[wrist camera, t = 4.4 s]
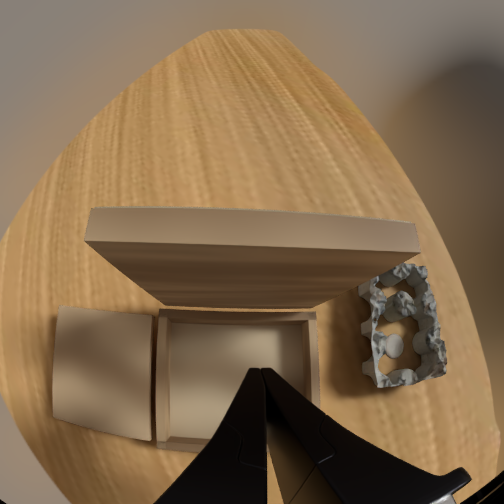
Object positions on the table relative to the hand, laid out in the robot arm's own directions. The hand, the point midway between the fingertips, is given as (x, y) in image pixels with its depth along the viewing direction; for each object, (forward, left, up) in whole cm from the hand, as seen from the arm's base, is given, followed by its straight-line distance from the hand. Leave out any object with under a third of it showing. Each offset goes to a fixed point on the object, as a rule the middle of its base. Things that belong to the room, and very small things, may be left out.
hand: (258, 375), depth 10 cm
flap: (+3, +3, -8) cm, 9 cm away
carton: (-3, +3, -11) cm, 12 cm away
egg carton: (+10, -10, -11) cm, 18 cm away
